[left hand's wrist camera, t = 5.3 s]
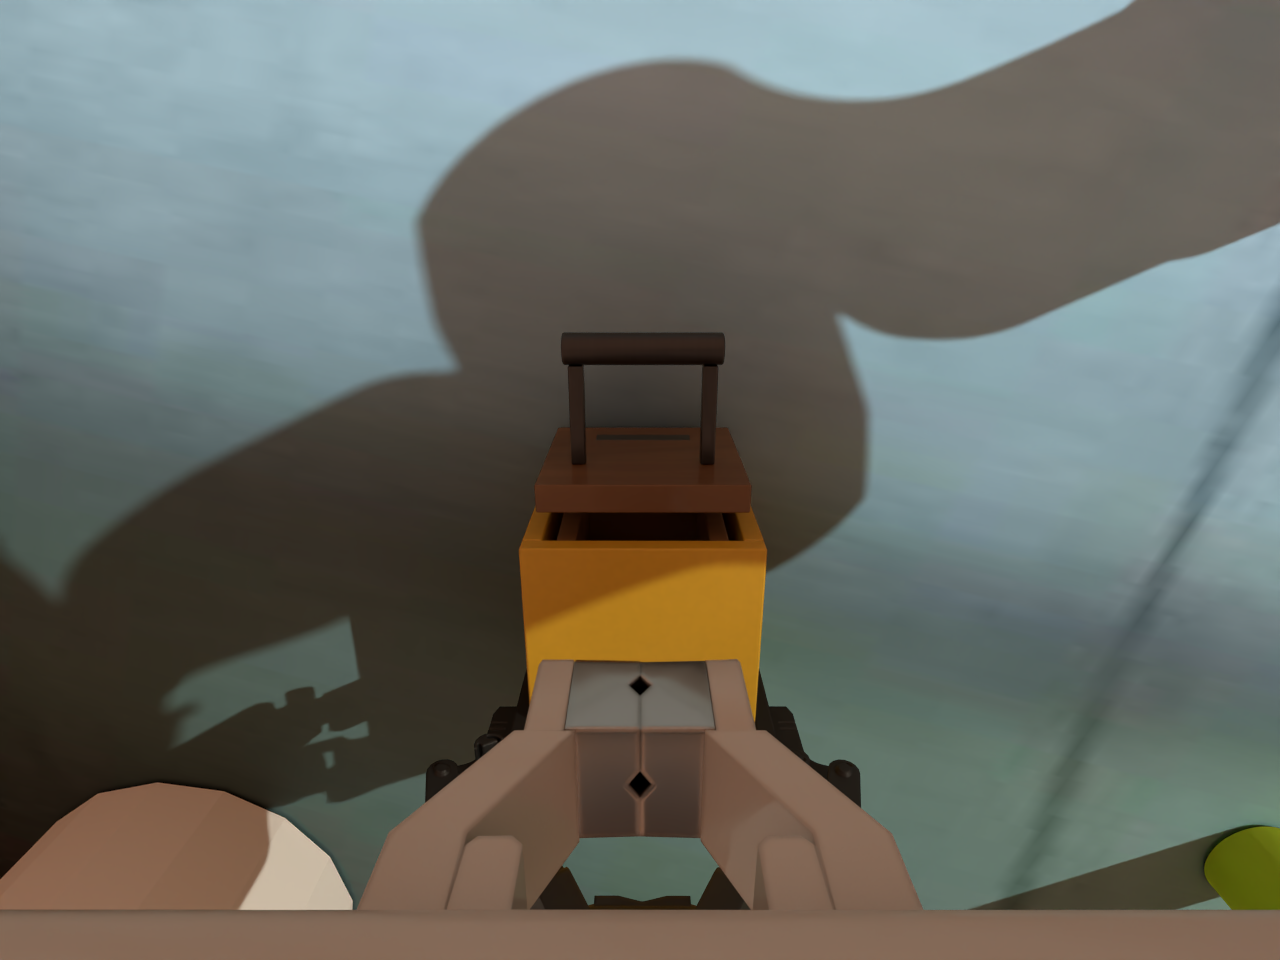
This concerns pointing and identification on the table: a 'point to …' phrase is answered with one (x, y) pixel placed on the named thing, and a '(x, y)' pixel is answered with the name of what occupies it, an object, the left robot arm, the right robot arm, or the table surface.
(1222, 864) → the soap dispenser
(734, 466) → the drawer
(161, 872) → the container
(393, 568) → the table surface
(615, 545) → the open yellow box
